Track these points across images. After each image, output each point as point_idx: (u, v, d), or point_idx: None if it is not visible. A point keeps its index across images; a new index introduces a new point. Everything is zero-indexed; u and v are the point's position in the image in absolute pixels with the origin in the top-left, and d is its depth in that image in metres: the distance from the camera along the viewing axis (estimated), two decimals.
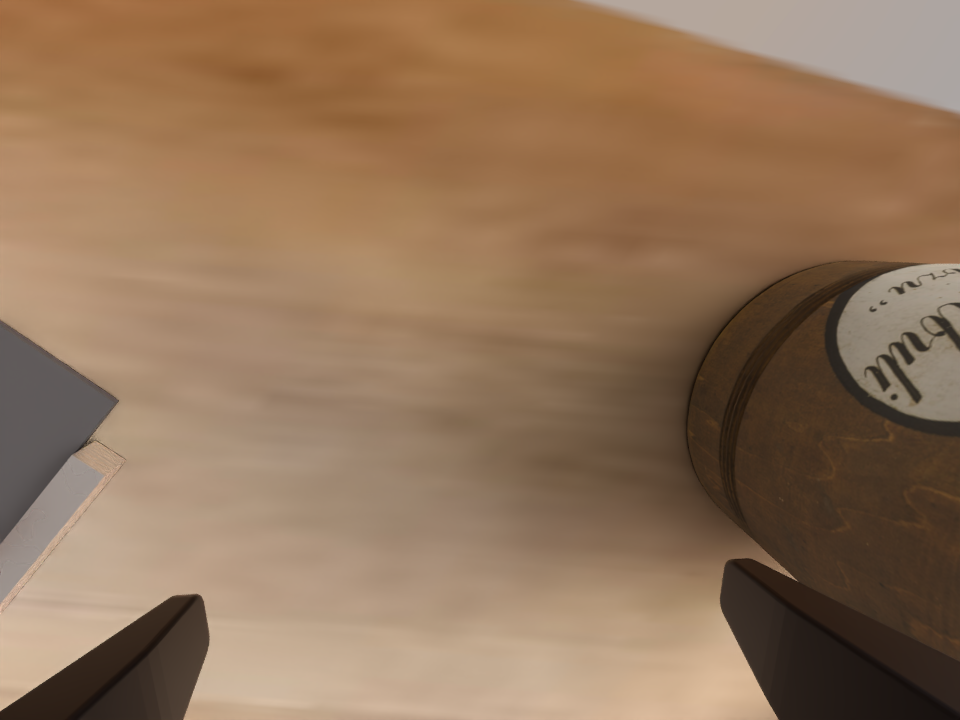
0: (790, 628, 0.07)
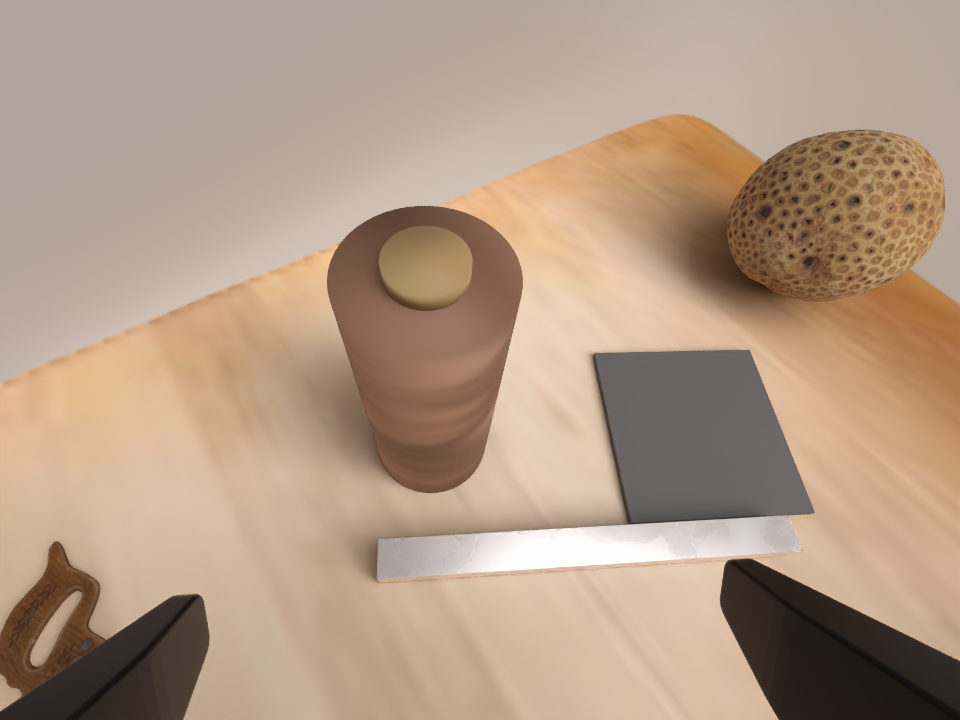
0: (790, 628, 0.07)
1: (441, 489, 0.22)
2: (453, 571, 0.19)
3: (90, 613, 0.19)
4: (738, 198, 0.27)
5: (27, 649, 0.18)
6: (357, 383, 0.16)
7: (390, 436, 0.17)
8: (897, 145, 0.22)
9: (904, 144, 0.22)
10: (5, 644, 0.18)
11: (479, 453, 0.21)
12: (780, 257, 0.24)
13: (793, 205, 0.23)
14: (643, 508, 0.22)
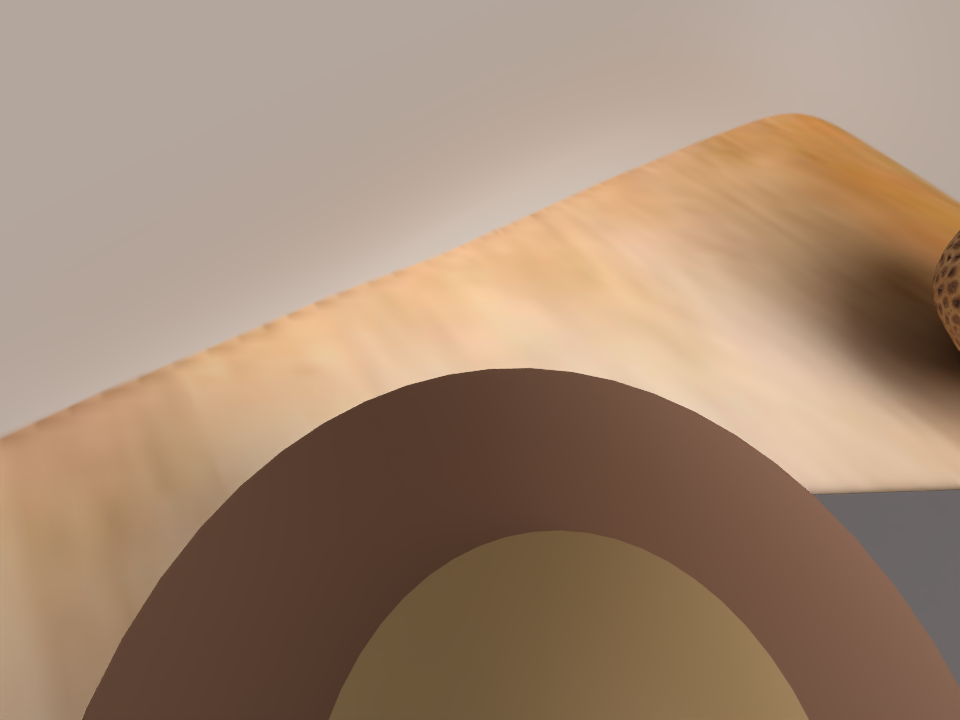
0: None
1: None
2: None
3: None
4: None
5: None
6: None
7: None
8: None
9: None
10: None
11: None
12: None
13: None
14: None
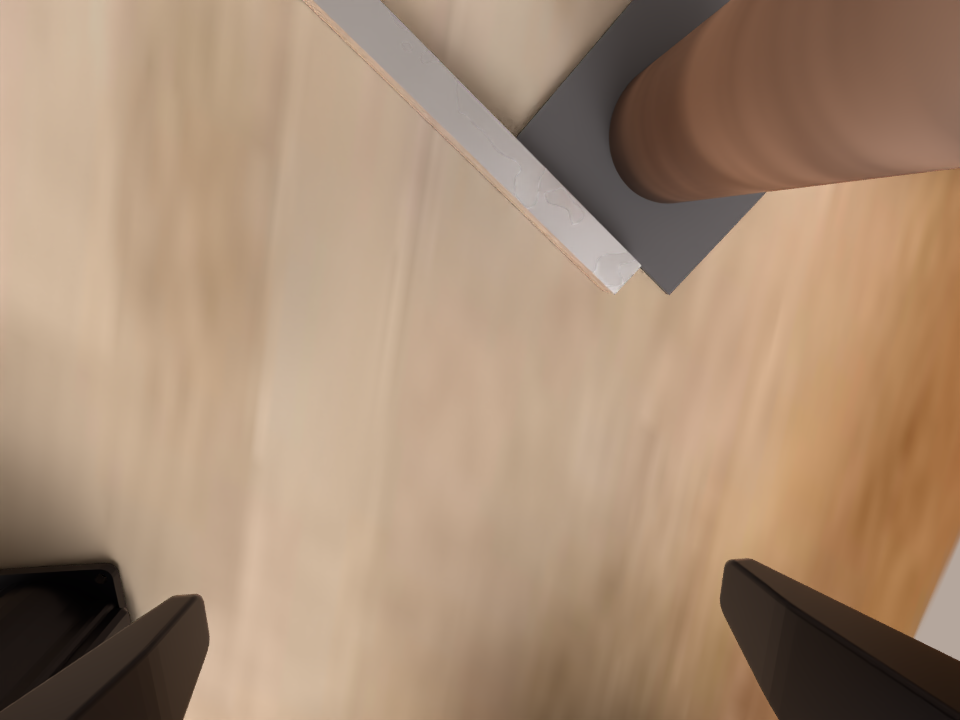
0: (790, 628, 0.07)
1: (639, 192, 0.19)
2: None
3: None
4: None
5: None
6: (743, 24, 0.10)
7: (688, 116, 0.13)
8: None
9: None
10: None
11: (711, 198, 0.17)
12: None
13: None
14: (540, 139, 0.19)
